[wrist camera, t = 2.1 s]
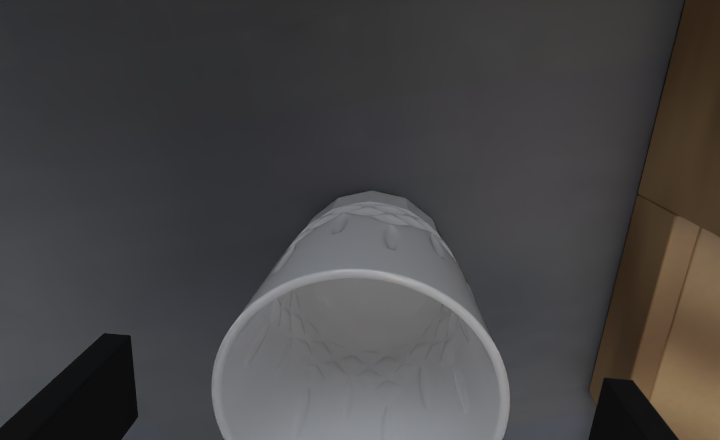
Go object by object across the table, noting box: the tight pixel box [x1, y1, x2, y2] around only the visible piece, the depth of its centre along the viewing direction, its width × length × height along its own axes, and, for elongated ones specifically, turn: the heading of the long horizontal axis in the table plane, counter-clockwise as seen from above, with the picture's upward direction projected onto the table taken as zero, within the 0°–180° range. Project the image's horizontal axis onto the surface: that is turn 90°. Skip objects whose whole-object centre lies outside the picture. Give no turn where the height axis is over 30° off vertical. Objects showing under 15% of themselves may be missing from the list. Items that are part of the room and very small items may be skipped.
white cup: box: [211, 190, 510, 440], centre depth 17 cm, size 8×8×10 cm
